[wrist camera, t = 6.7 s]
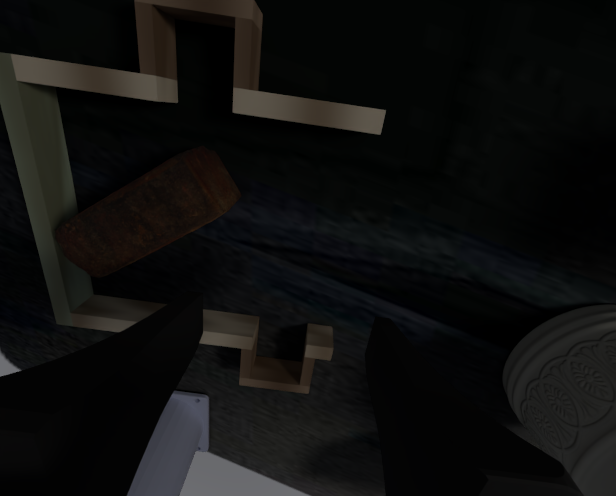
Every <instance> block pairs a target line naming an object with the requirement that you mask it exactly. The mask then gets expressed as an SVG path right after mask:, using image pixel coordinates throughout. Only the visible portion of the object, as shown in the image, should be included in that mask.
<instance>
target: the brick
mask: <svg viewBox="0 0 616 496" xmlns="http://www.w3.org/2000/svg"><path fill="white" fill-rule="evenodd" d="M240 197H241V193H240V191H239V189H238V188H237V186H236V184H235V183H234V181H233V179H232V178H231V176H230V174H229V173H228V171H227V170H226V168H225V166H224V165H223V163H222V161H221V159H220V158H219V156H218V155H217V154H216V152H215V151H213V150H209V149H206V148H205V147H204V146H200V147H197V148H194V149H191V150H186V151H184V152H182V153H179V154H177V155H175V156H174V157H172V158H170V159H169V160H167V161H165V162H164V163H162V164H161V165H159V166H157V167H156V168H154V169H152V170H151V171H150V172H148V173H146V174H144V175H143V176H141V177H139V178H138V179H136V180H134V181H132V182H131V183H129V184H127V185H126V186H124V187H122V188H121V189H119V190H117V191H115V192H113V193H112V194H110V195H109V196H107V197H106V198H104V199H102V200H100V201H99V202H97V203H96V204H94V205H92V206H90V207H88V208H87V209H85V210H84V211H82V212H80V213H79V214H77V215H76V216H74V217H73V218H71V219H69V220H67V221H65V222H64V223H62V224H61V225H60V227H59V228H57V229H56V230H55V238H56V241H57V242H58V243H59V244H60V246H61V248H62V251H63V254H64V256H65V257H66V258H67V259H68V260H69V261H70V262H72V263H73V264H75V265H76V266H78V267H79V268H81V269H82V270H84V271H86V272H87V274H89V275H90V276H92V277H97V278H101V277H104V276H106V275H109V274H110V273H113V272H115V271H117V270H119V269H121V268H123V267H125V266H127V265H129V264H131V263H133V262H135V261H137V260H139V259H141V258H143V257H145V256H147V255H148V254H150V253H152V252H154V251H156V250H158V249H160V248H162V247H164V246H166V245H168V244H170V243H171V242H173V241H175V240H177V239H179V238H181V237H183V236H184V235H186V234H188V233H190V232H193V231H195V230H196V229H198V228H200V227H202V226H204V225H205V224H207V223H210V222H212V221H213V220H215V219H216V218H218V217H220V216H221V215H223V214H224V213H225V212H227V211H229V210H230V209H231V207H232V206H233V205H234V204H235V203H236V202H237V201H238V200H239V198H240Z"/></svg>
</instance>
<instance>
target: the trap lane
mask: <svg viewBox="0 0 616 496" xmlns="http://www.w3.org/2000/svg"><path fill="white" fill-rule="evenodd" d="M134 1H135V13H136V26H137V38H138V50H139V63H140V73H134V72H127V71H120V70H114V69H107V68H100V67H94V66H87V65H80V64H74V63H67V62H60V61H54V60H47V59H41V58H34V57H27V56H21V55H14V54H7V53H1V52H0V104H1V108H2V112H3V116H4V120H5V124H6V127H7V131H8V135H9V139H10V143H11V147H12V151H13V155H14V159H15V163H16V166H17V170H18V174H19V178H20V182H21V186H22V190H23V194H24V198H25V202H26V205H27V209H28V213H29V217H30V221H31V225H32V229H33V233H34V237H35V241H36V244H37V248H38V252H39V256H40V260H41V264H42V268H43V272H44V276H45V280H46V283H47V287H48V291H49V295H50V299H51V303H52V307H53V311H54V315H55V319H56V322H57V324H60V325H68V326H75V327H83V328H90V329H98V330H105V331H113V332H121V331H123V330H125V329H127V328H128V327H130V326H132V325H134V324H135V323H137V322H139V321H141V320H143V319H144V318H146V317H148V316H149V315H151V314H153V313H154V312H156V311H158V310H159V309H161V308H162V307H164V306H166V305H167V304H162V303H154V302H147V301H139V300H132V299H125V298H117V297H110V296H102V295H95V294H94V293H93V288H92V283H91V277H90V275H89V274H87V272H86V271H84V270H82V269H81V268H79V267H78V266H76V265H75V264H73V263H72V262H70V261H69V260H68V259H67V258H66V257H65V256H64V254H63V251H62V248H61V246H60V244H59V243H58V242H57V241H56V238H55V230H56V229H57V228H59V227H60V225H61V224H62V223H64V222H65V221H67V220H69V219H71V218H73V217H74V216H76V215H77V214H79V212H78V207H77V201H76V196H75V191H74V185H73V180H72V174H71V169H70V164H69V158H68V153H67V147H66V142H65V137H64V131H63V126H62V120H61V115H60V110H59V104H58V99H57V93H56V88H55V86H56V87H63V88H70V89H77V90H83V91H90V92H97V93H103V94H110V95H117V96H124V97H130V98H137V99H144V100H151V101H157V102H171V103H178V92H177V65H176V39H175V19H179V20H185V21H192V22H198V23H205V24H211V25H218V26H224V27H231V28H235V51H234V84H233V113H238V114H245V115H251V116H258V117H265V118H272V119H278V120H285V121H292V122H299V123H305V124H312V125H319V126H325V127H332V128H339V129H346V130H352V131H359V132H366V133H373V134H379V135H381V130H382V126H383V121H384V117H385V112H386V110H380V109H373V108H367V107H360V106H353V105H347V104H340V103H333V102H327V101H320V100H313V99H307V98H300V97H293V96H287V95H280V94H273V93H267V92H260V91H258V84H259V67H260V51H261V34H262V18H263V14H262V13H261V11H260V9H259V8H258V6H257V4H256V2H255V1H254V0H134ZM258 325H259V317H258V316H250V315H243V314H235V313H228V312H221V311H213V310H206V309H203V335H202V337H201V340H200V342H199V343H203V344H210V345H218V346H225V347H233V348H240V349H241V364H240V381H239V385H244V386H252V387H260V388H267V389H275V390H283V391H290V392H298V393H306V394H308V392H309V387H310V382H311V377H312V372H313V366H314V361H315V358H316V359H323V360H331V357H332V352H333V332H332V327H331V326H324V325H317V324H309V323H308V326H307V332H306V338H305V344H304V350H303V356H302V362H299V361H291V360H284V359H276V358H269V357H261V356H256V349H257V337H258Z"/></svg>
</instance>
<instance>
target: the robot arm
mask: <svg viewBox="0 0 616 496" xmlns="http://www.w3.org/2000/svg"><path fill="white" fill-rule="evenodd" d="M202 335H203V293H197V292H190V291H188V292H186V293H184V294H183V295H181V296H180V297H178V298H176V299H175V300H173V301H172V302H170V303H169V304H167V305H166V306H164V307H162V308H161V309H159V310H158V311H156V312H154V313H153V314H151V315H149V316H148V317H146V318H144V319H143V320H141V321H139V322H137V323H135V324H134V325H132V326H130V327H128V328H127V329H125V330H123V331H121V332H119V333H117V334H115V335H113V336H111V337H109V338H107V339H105V340H102V341H100V342H98V343H96V344H94V345H91V346H89V347H86V348H84V349H81V350H79V351H76V352H74V353H71V354H69V355H66V356H64V357H61V358H58V359H56V360H53V361H50V362H47V363H44V364H41V365H38V366H35V367H32V368H29V369H26V370H22V371H19V372H16V373H12V374H9V375H5V376H1V377H0V496H179V495H180V492H181V489H182V487H183V484H184V481H185V479H186V476H187V473H188V470H189V467H190V465H191V462H192V459H193V457H194V454H195V452H196V451H201V452H206V451H207V450H208V448H209V397H208V396H207V395H204V394H197V393H189V392H181V391H174V390H175V389H176V387H177V385H178V383H179V381H180V380H181V378H182V376H183V374H184V373H185V371H186V369H187V367H188V365H189V364H190V362H191V360H192V358H193V356H194V354H195V352H196V350H197V347H198V345H199V342H200V340H201V337H202ZM365 361H366V373H367V380H368V385H369V390H370V395H371V400H372V404H373V409H374V414H375V418H376V423H377V428H378V432H379V438H380V444H381V453H382V461H383V470H384V480H385V490H386V496H584V495H583V494H582V492H581V491H580V489H579V488H578V486H577V485H576V483H575V482H574V481H573V479H572V478H571V476H570V475H569V473H568V472H567V470H566V469H565V467H564V466H563V465H562V463H561V462H560V461H558V460H556V459H555V458H553V457H551V456H550V455H548V454H546V453H545V452H543V451H542V450H540V449H538V448H537V447H535V446H533V445H532V444H530V443H528V442H527V441H525V440H523V439H522V438H520V437H519V436H517V435H516V434H514V433H513V432H511V431H510V430H508V429H507V428H505V427H504V426H502V425H501V424H500V423H498V422H497V421H495V420H494V419H493V418H491V417H490V416H488V415H487V414H486V413H484V412H483V411H482V410H481V409H479V408H478V407H477V406H475V405H474V404H473V403H472V402H470V401H469V400H468V399H467V398H465V397H464V396H463V395H462V394H461V393H459V392H458V391H457V390H456V389H455V388H454V387H453V386H452V385H450V384H449V383H448V382H447V381H446V380H445V379H444V378H443V377H442V376H441V375H440V374H439V373H438V372H437V371H436V370H435V369H434V368H433V367H432V366H431V365H430V364H429V363H428V362H427V361H426V360H425V359H424V358H423V357H422V356H421V354H420V353H419V352H418V351H417V350H416V349H415V348H414V347H413V345H412V344H411V343H410V342H409V341H408V340H407V338H406V337H405V336H404V335H403V334H402V332H401V331H400V330H399V329H398V328H397V326H396V325H395V324H394V323H393V322H392V320H391V319H389V318H381V317H375V320H374V324H373V327H372V331H371V335H370V338H369V342H368V345H367V349H366V352H365Z"/></svg>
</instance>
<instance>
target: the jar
mask: <svg viewBox="0 0 616 496" xmlns="http://www.w3.org/2000/svg"><path fill="white" fill-rule="evenodd" d="M502 381H503V387H504V390H505V393H506V394H507V397H508V400H509V403H510V406H511V408H512V410H513V411H514V413H515V414H516V416H517V417H518V419H519V421H520V422H521V423H522V424H523V425H524V426H525V427H526V428H527V429H528V430H529V432H530V433H531V435H532V436H533V438H534V439H535V441H536V442H537V444H538V445H539V447H540V448H541V450H542V451H543V452H545V453H546V454H548V455H550V456H551V457H553V458H555V459H556V460H558V461H560V462H561V463H562V465H563V466H564V467H565V469H566V470H567V472H568V473H569V475H570V476H571V478H572V479H573V481H574V482H575V483H576V485H577V486H578V488H579V489H580V491H581V492H582V494H583V495H584V496H616V305H614V304H605V305H594V306H588V307H583V308H579V309H575V310H572V311H569V312H566V313H563V314H561V315H558V316H556V317H554V318H552V319H550V320H548V321H546V322H544V323H543V324H541V325H539V326H538V327H536V328H535V329H533V330H532V331H531V332H530V333H528V334H527V335H526V336H525V337H524V338H523V339H522V340H521V341H520V342H519V343H518V344H517V345H516V346H515V348H514V349H513V350H512V352H511V353H510V355H509V357H508V359H507V361H506V363H505V366H504V369H503V376H502Z"/></svg>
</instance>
